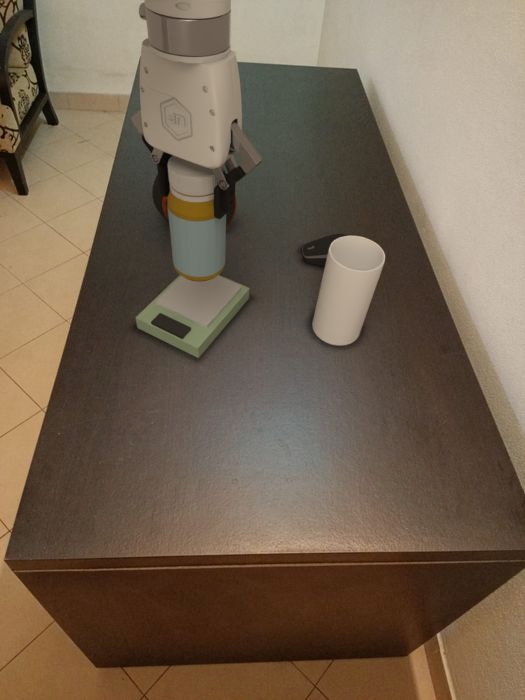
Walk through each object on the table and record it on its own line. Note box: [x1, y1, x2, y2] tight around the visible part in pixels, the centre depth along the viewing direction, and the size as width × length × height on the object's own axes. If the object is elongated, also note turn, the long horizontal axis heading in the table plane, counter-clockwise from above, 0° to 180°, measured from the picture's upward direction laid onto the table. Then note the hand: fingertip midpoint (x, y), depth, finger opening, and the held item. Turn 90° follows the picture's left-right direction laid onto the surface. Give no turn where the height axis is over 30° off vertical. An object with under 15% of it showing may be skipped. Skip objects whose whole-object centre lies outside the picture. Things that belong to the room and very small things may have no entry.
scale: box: [135, 274, 250, 359], centre depth 79 cm, size 16×12×3 cm
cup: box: [311, 235, 386, 346], centre depth 74 cm, size 8×8×16 cm
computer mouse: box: [301, 233, 350, 267], centre depth 90 cm, size 7×12×4 cm, turn 91°
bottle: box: [167, 156, 227, 282], centre depth 58 cm, size 7×7×15 cm
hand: (196, 201), depth 56 cm, fingers closed on bottle, 7 cm apart
